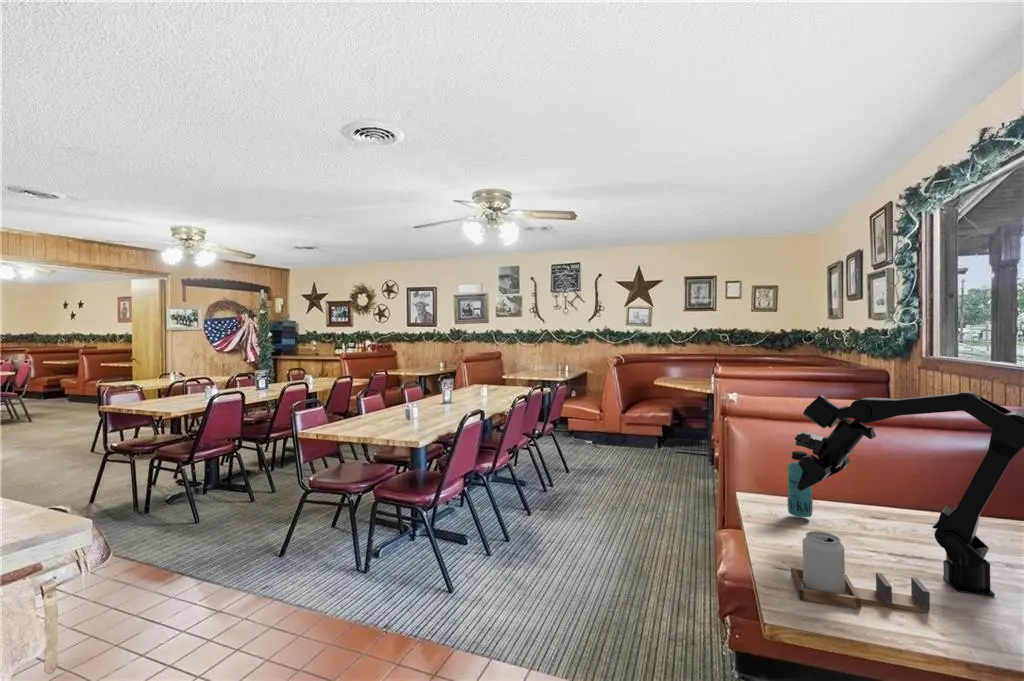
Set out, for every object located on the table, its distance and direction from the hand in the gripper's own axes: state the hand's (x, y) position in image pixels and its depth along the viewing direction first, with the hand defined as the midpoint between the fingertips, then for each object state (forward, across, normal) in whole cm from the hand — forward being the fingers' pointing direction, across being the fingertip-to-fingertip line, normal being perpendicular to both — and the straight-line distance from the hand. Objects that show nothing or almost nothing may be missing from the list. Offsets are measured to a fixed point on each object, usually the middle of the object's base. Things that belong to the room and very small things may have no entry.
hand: (805, 485), depth 129 cm
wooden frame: (+3, +22, +22) cm, 32 cm away
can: (+6, +25, +18) cm, 32 cm away
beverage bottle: (+17, -17, +2) cm, 24 cm away
